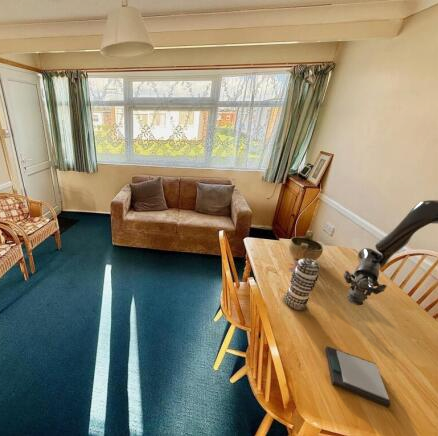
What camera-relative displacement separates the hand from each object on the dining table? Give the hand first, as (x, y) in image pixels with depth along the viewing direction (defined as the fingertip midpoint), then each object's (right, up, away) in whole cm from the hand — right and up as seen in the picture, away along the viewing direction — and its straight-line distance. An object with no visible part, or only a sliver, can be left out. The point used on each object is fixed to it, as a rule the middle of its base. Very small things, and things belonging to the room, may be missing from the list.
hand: (360, 291), depth 91 cm
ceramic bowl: (+10, +4, +50) cm, 52 cm away
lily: (-2, -3, +35) cm, 35 cm away
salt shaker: (+2, -6, +5) cm, 8 cm away
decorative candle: (-16, -12, +16) cm, 26 cm away
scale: (-15, -25, -13) cm, 32 cm away
